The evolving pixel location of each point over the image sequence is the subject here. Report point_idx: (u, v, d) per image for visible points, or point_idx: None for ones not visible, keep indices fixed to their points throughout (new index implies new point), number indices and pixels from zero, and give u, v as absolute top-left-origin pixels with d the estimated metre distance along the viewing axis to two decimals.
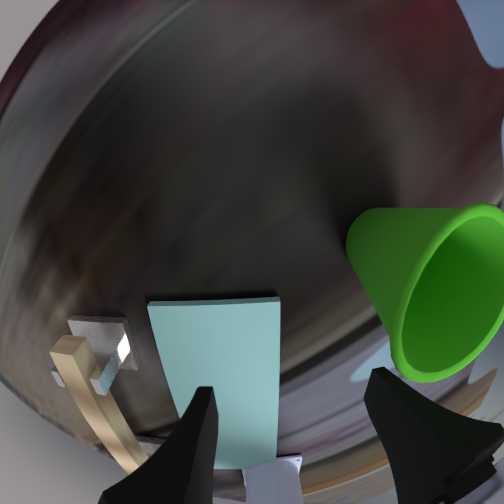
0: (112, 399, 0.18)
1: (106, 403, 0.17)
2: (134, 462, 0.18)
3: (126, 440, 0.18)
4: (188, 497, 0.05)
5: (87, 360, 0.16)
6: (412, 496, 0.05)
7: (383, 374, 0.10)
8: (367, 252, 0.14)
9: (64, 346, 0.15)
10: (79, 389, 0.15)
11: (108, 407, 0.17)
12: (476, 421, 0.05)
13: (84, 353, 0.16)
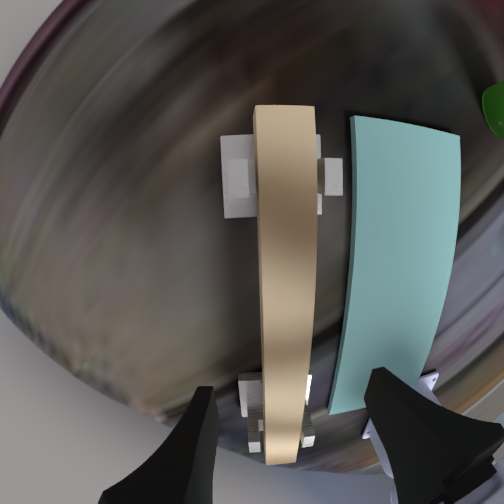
0: None
1: None
2: (304, 388, 0.14)
3: None
4: (188, 497, 0.05)
5: None
6: (412, 496, 0.05)
7: (383, 374, 0.10)
8: None
9: None
10: (292, 187, 0.11)
11: None
12: (476, 421, 0.05)
13: None
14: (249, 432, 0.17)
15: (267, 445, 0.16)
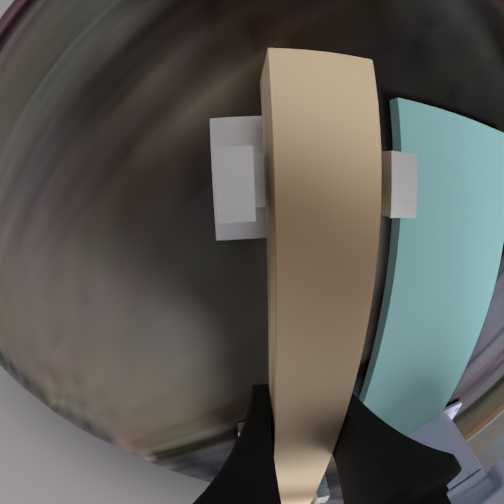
0: None
1: None
2: (324, 465, 0.09)
3: None
4: None
5: None
6: None
7: None
8: None
9: None
10: (339, 203, 0.05)
11: None
12: (426, 448, 0.05)
13: None
14: None
15: None
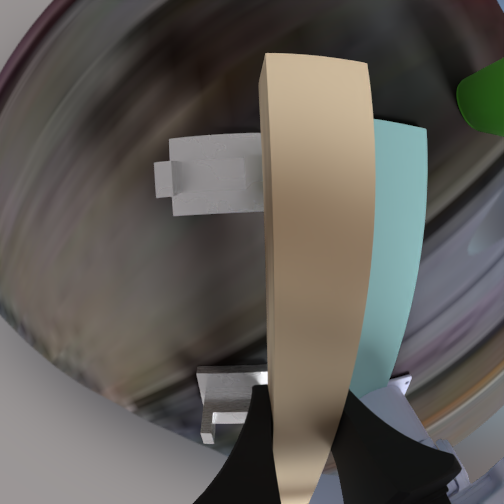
0: None
1: None
2: (323, 461, 0.09)
3: None
4: None
5: None
6: None
7: None
8: (490, 77, 0.10)
9: None
10: (334, 203, 0.06)
11: None
12: (426, 448, 0.05)
13: None
14: (202, 423, 0.17)
15: None
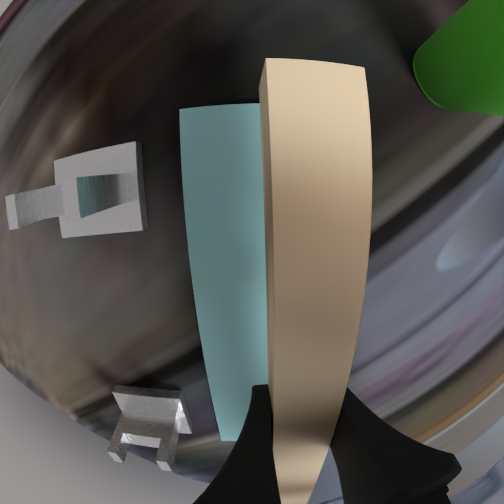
0: None
1: None
2: (322, 458, 0.09)
3: None
4: None
5: None
6: None
7: None
8: (447, 31, 0.07)
9: None
10: (331, 203, 0.06)
11: None
12: (426, 448, 0.05)
13: None
14: (111, 442, 0.14)
15: None
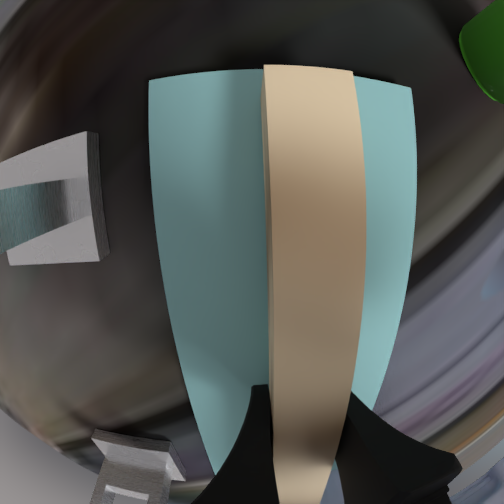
0: None
1: None
2: (326, 475, 0.08)
3: None
4: None
5: None
6: None
7: None
8: None
9: None
10: (327, 192, 0.06)
11: None
12: (426, 447, 0.05)
13: None
14: (93, 494, 0.09)
15: None
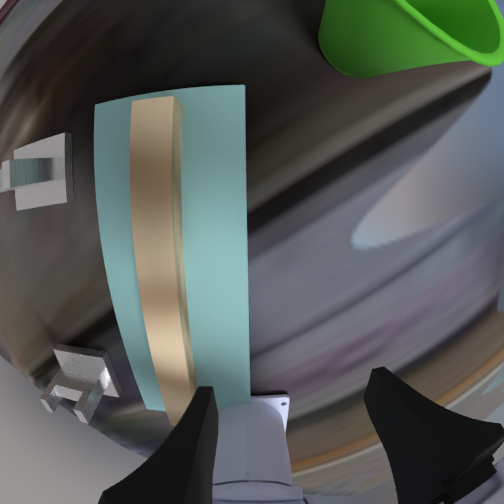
0: (181, 209, 0.16)
1: (177, 202, 0.15)
2: (181, 340, 0.16)
3: (180, 290, 0.16)
4: (188, 497, 0.05)
5: (178, 124, 0.14)
6: (412, 496, 0.05)
7: (383, 374, 0.10)
8: None
9: None
10: (152, 159, 0.13)
11: (177, 211, 0.15)
12: (476, 421, 0.05)
13: (178, 114, 0.14)
14: (44, 391, 0.15)
15: (164, 400, 0.18)
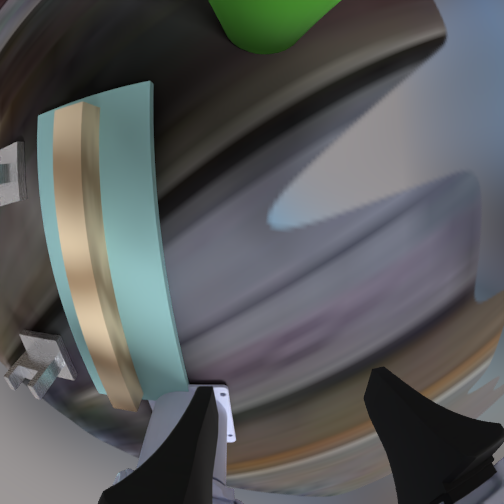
0: (99, 199, 0.16)
1: (91, 193, 0.15)
2: (102, 320, 0.16)
3: (100, 272, 0.16)
4: (188, 497, 0.05)
5: (92, 125, 0.14)
6: (412, 496, 0.05)
7: (383, 374, 0.10)
8: None
9: None
10: (68, 157, 0.13)
11: (92, 201, 0.15)
12: (476, 421, 0.05)
13: (92, 116, 0.13)
14: None
15: (102, 381, 0.18)
